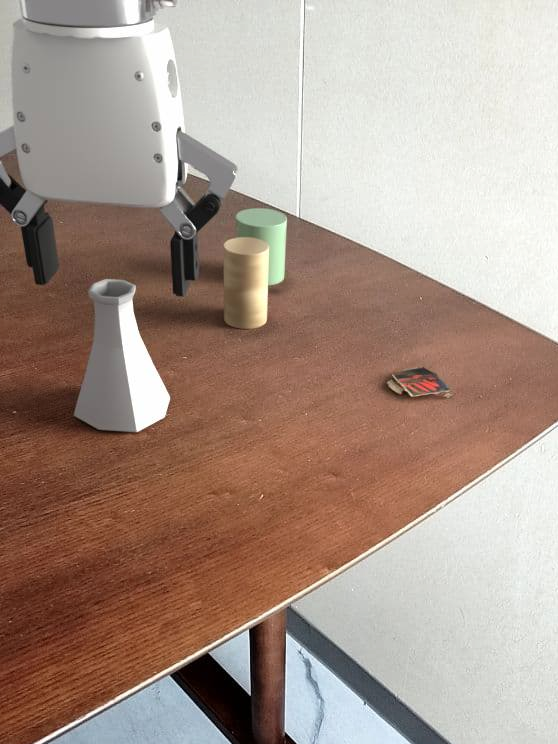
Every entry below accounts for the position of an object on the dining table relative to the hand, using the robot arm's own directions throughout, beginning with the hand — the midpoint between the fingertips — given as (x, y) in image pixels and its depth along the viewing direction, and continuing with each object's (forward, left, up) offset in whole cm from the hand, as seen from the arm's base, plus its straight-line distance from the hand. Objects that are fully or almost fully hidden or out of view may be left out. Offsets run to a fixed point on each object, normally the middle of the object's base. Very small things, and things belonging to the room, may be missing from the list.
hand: (115, 283), depth 61 cm
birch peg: (+7, +18, -11) cm, 22 cm away
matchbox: (+23, +8, -11) cm, 26 cm away
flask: (0, 0, -11) cm, 11 cm away
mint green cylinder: (+7, +28, -11) cm, 30 cm away
